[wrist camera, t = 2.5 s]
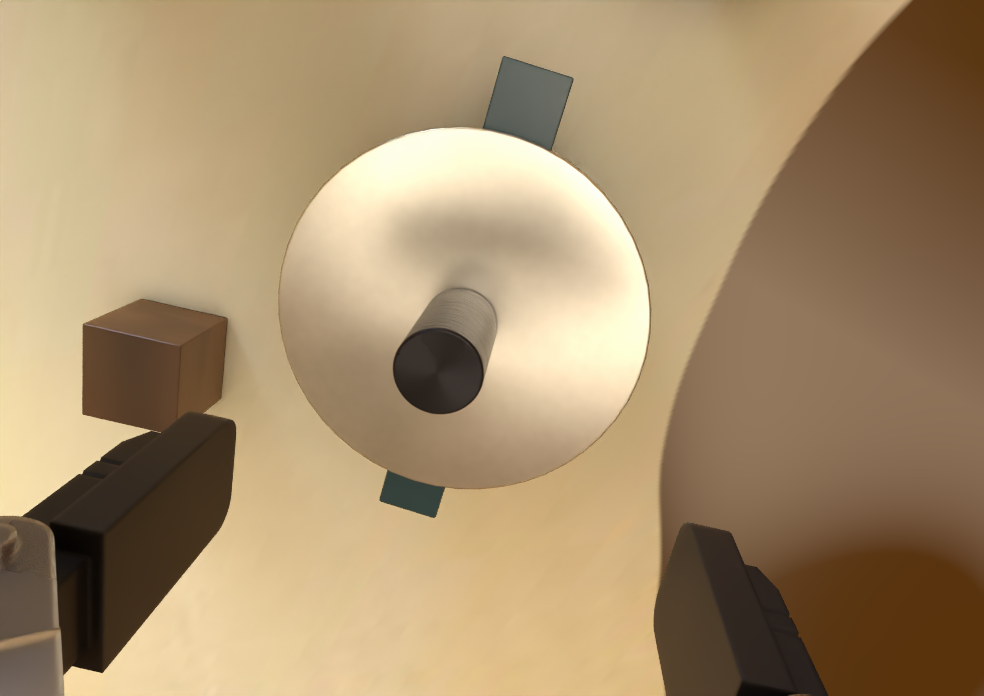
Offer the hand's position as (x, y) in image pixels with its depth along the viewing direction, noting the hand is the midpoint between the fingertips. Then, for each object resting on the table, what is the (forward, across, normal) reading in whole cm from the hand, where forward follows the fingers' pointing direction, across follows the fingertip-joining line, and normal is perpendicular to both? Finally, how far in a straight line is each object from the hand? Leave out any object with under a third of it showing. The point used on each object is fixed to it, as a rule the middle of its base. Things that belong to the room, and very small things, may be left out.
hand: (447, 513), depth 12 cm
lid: (+13, +1, 0) cm, 13 cm away
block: (+21, +16, +8) cm, 28 cm away
